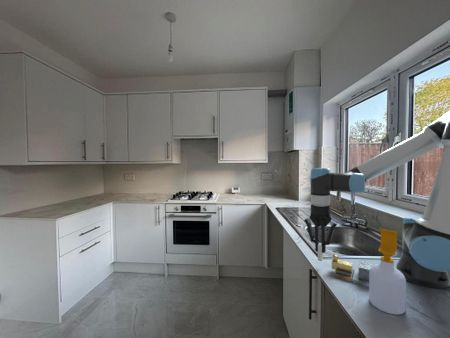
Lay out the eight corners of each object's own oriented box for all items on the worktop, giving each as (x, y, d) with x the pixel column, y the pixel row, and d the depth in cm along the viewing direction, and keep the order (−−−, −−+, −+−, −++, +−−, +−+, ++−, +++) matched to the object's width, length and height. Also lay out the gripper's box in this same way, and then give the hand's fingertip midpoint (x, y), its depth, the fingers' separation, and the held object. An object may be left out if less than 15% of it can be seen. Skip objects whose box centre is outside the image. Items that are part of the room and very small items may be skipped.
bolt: (352, 270, 84) (352, 257, 84) (351, 273, 81) (351, 260, 81) (332, 265, 88) (333, 253, 88) (331, 268, 86) (331, 256, 85)
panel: (376, 277, 82) (376, 274, 82) (376, 289, 74) (376, 285, 74) (338, 267, 89) (338, 264, 89) (334, 277, 82) (334, 274, 82)
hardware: (376, 275, 81) (376, 264, 80) (376, 284, 75) (376, 271, 75) (337, 266, 88) (337, 255, 88) (335, 272, 83) (335, 261, 83)
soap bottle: (366, 305, 66) (367, 228, 65) (372, 292, 73) (373, 222, 72) (403, 320, 60) (404, 235, 59) (406, 304, 66) (407, 228, 65)
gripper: (339, 204, 88) (339, 259, 89) (306, 201, 95) (307, 252, 96) (336, 207, 82) (336, 267, 82) (301, 204, 89) (302, 258, 90)
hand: (320, 259), depth 89 cm, fingers closed
